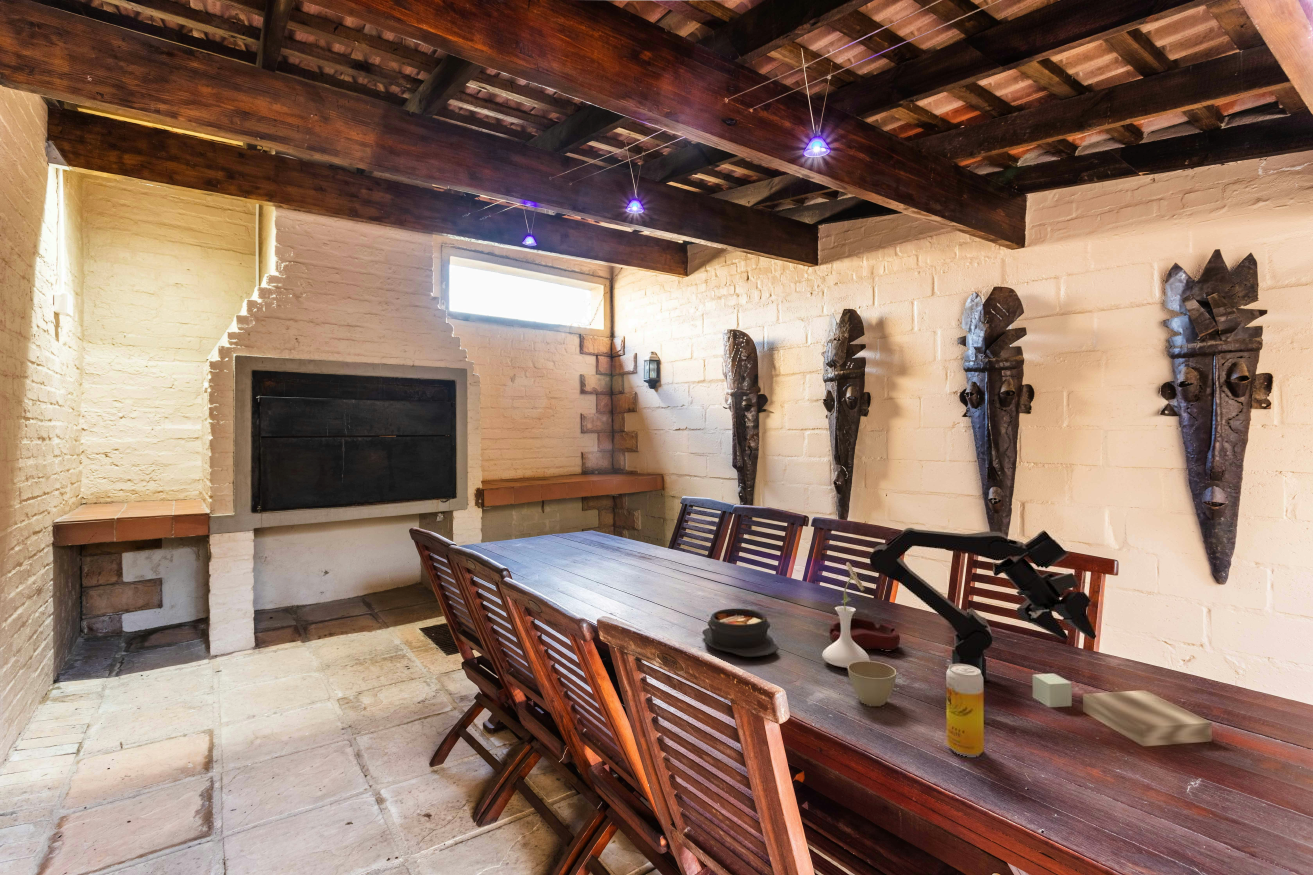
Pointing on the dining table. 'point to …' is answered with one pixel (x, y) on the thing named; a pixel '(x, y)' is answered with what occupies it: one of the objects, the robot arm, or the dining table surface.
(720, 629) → the casserole
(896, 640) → the ashtray
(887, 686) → the flower pot
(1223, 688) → the dining table surface
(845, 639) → the flower in vase
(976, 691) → the beer can
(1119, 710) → the birch base
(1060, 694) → the sage block
